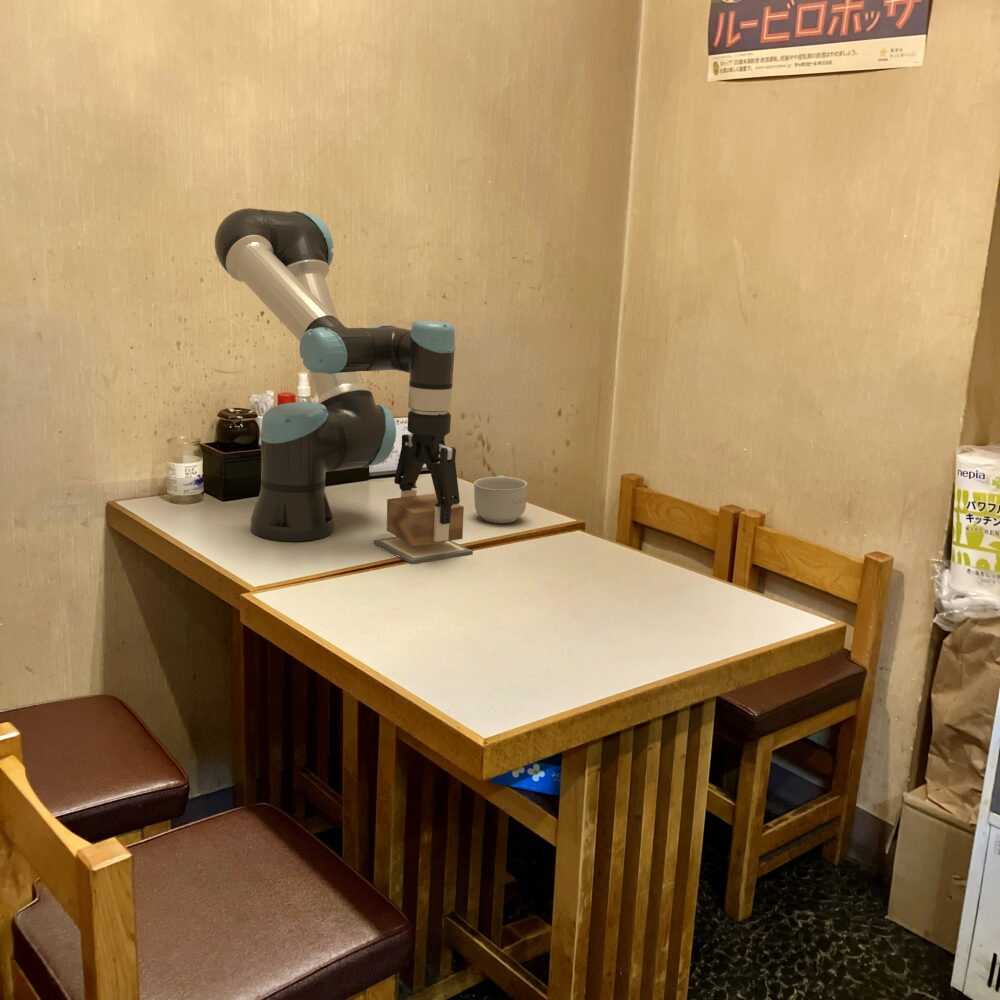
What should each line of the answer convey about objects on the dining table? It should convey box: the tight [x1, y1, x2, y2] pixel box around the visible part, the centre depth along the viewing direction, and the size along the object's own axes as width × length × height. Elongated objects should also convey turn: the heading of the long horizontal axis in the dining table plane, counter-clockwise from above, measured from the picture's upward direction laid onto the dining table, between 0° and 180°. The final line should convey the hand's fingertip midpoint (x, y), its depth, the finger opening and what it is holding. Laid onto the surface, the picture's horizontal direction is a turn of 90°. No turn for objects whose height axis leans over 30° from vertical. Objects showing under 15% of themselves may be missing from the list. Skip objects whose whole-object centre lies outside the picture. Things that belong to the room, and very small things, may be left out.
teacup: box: [473, 474, 528, 524], centre depth 204 cm, size 14×11×8 cm
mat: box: [372, 536, 474, 565], centre depth 181 cm, size 13×13×1 cm
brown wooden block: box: [386, 492, 465, 546], centre depth 180 cm, size 10×10×6 cm
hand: (423, 532), depth 180 cm, fingers closed on brown wooden block, 10 cm apart
